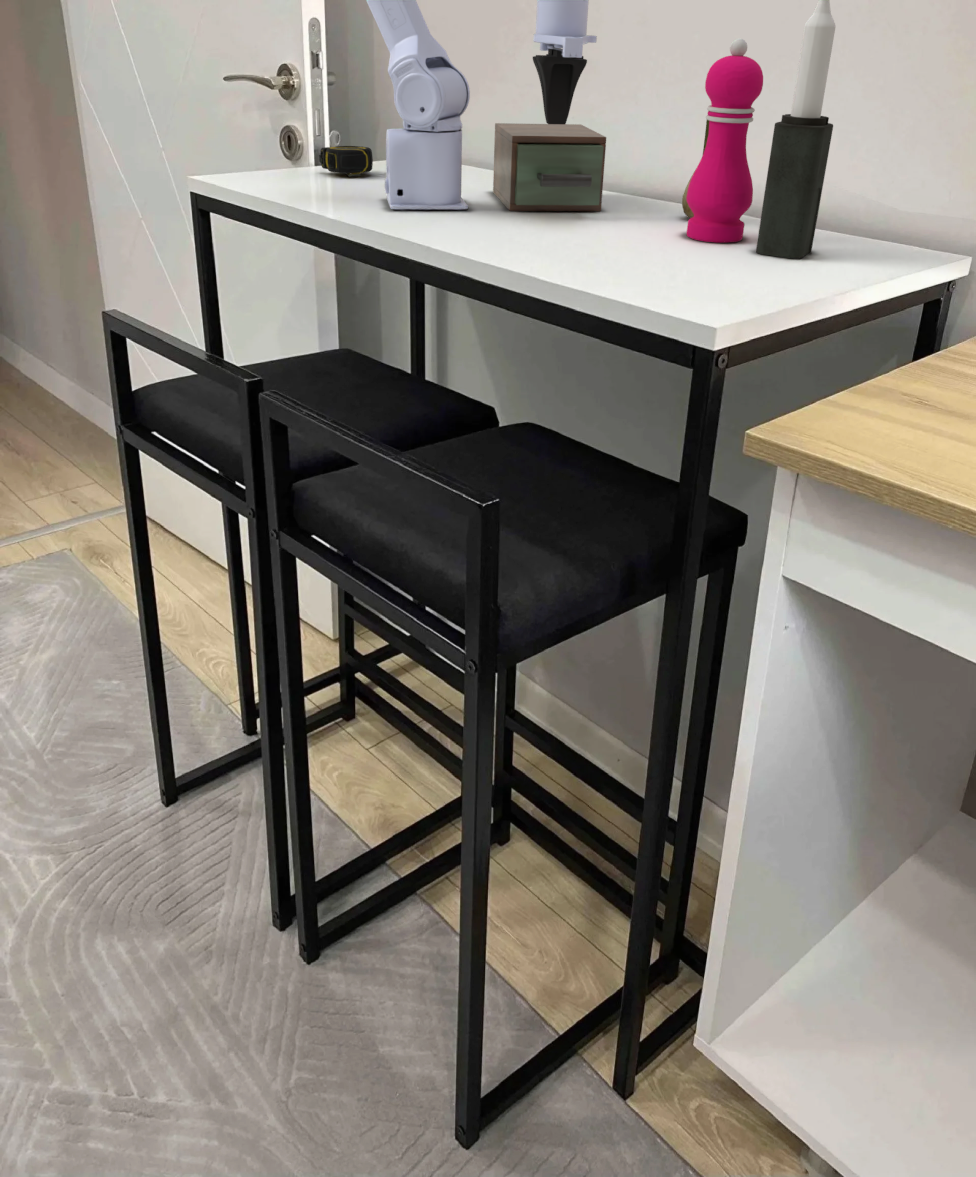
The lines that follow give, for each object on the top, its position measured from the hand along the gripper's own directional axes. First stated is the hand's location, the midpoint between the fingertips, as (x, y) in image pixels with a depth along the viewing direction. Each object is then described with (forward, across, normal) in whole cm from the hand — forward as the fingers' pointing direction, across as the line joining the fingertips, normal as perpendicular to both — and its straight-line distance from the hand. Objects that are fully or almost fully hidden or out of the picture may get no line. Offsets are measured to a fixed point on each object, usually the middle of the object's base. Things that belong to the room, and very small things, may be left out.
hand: (555, 123), depth 123 cm
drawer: (+9, +6, -1) cm, 11 cm away
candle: (+10, -20, -22) cm, 32 cm away
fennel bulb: (+10, -2, -18) cm, 21 cm away
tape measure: (+11, +32, +24) cm, 41 cm away
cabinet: (+10, +10, -1) cm, 15 cm away
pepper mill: (+10, -12, -16) cm, 23 cm away
